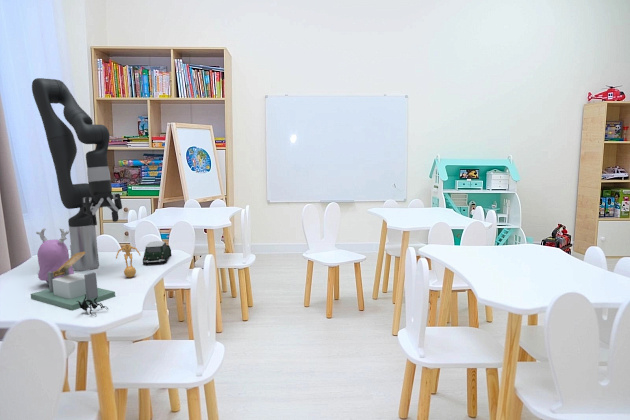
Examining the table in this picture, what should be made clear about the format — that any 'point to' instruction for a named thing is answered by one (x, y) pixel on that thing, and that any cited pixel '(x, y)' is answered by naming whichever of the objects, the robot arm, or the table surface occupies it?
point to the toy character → (52, 255)
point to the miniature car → (156, 252)
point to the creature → (90, 305)
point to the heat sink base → (72, 302)
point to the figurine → (130, 270)
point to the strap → (68, 264)
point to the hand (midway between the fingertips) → (105, 223)
